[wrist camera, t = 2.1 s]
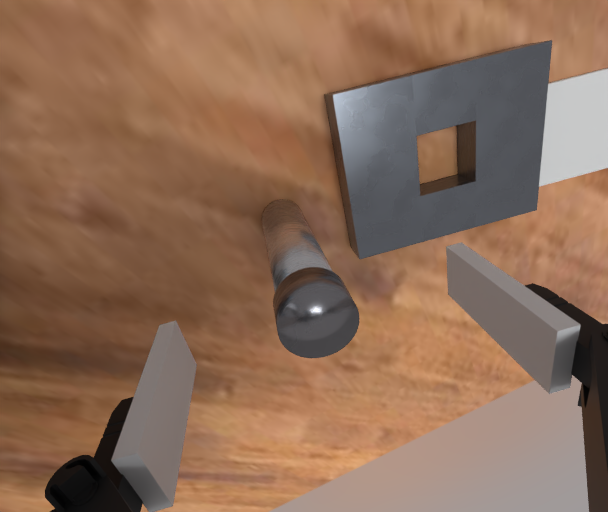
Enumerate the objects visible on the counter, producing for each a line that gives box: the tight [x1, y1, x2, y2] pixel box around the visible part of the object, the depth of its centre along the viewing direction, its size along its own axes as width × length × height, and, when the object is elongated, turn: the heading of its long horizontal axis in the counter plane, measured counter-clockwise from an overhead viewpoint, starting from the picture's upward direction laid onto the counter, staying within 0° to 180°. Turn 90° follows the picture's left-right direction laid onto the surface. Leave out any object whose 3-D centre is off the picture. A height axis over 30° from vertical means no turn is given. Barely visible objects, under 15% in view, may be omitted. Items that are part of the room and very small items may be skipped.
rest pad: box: [539, 68, 608, 186], centre depth 28 cm, size 8×8×1 cm
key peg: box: [262, 199, 359, 358], centre depth 21 cm, size 4×4×14 cm
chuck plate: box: [324, 40, 552, 259], centre depth 26 cm, size 15×12×2 cm
